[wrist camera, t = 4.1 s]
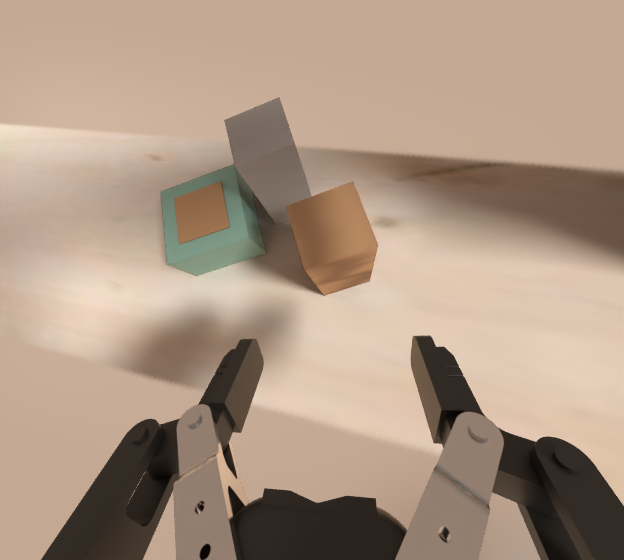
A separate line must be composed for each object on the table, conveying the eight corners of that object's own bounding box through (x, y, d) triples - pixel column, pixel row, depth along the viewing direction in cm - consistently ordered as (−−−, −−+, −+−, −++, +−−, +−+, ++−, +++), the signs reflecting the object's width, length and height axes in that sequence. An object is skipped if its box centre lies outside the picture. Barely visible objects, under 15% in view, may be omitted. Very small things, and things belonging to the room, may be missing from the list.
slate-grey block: (304, 176, 29) (279, 97, 19) (315, 210, 28) (294, 143, 18) (267, 190, 29) (224, 120, 20) (276, 224, 28) (235, 166, 19)
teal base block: (252, 191, 30) (232, 163, 25) (266, 254, 28) (247, 236, 23) (189, 213, 31) (159, 190, 26) (198, 276, 29) (165, 263, 24)
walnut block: (354, 239, 26) (352, 181, 16) (369, 281, 24) (377, 244, 15) (311, 253, 26) (285, 206, 17) (324, 295, 25) (303, 269, 15)
